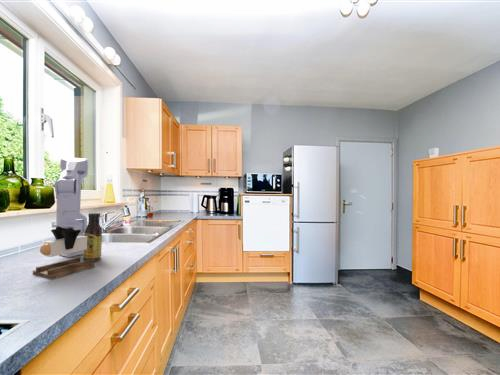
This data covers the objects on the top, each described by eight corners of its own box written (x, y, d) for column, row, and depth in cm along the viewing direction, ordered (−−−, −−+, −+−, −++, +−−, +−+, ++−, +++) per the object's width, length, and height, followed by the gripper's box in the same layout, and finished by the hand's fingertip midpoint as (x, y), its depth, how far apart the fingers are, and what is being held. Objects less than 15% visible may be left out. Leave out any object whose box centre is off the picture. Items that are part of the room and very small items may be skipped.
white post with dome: (80, 248, 93) (80, 235, 94) (86, 249, 92) (87, 236, 92) (37, 257, 81) (37, 242, 81) (43, 258, 79) (43, 243, 79)
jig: (75, 262, 96) (75, 256, 96) (94, 266, 91) (95, 260, 91) (32, 273, 83) (32, 266, 83) (52, 279, 78) (52, 271, 78)
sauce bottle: (79, 261, 97) (80, 213, 97) (94, 257, 103) (95, 212, 103) (90, 263, 94) (91, 214, 95) (105, 259, 100) (105, 212, 100)
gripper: (42, 211, 86) (41, 248, 86) (66, 213, 80) (65, 253, 80) (64, 209, 93) (63, 244, 93) (87, 211, 87) (86, 248, 87)
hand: (65, 248), depth 87 cm, fingers closed on white post with dome, 4 cm apart
